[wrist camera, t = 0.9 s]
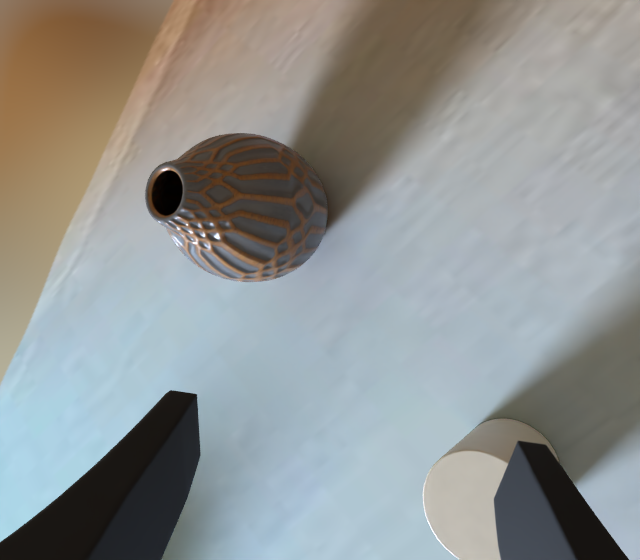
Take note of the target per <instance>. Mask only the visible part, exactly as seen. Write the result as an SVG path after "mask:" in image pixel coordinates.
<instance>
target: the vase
mask: <svg viewBox="0 0 640 560" xmlns="http://www.w3.org/2000/svg"><path fill="white" fill-rule="evenodd" d="M145 199H146V205H147V209H148V211H149V213H150V215H151V216H152V217H153V218H154V219H155V220H156V221H157V222H159V223H160V224H161V225H163V226H164V227H165V228H166V230H167V231H168V233H169V235H170V236H171V238H172V240H173V241H174V243H175V244H176V245H177V247H178V248H179V250H180V251H181V252H182V253H183V254H184V255H185V256H186V257H187V258H188V259H189V260H190V261H191V262H193V263H194V264H195V265H197V266H198V267H200V268H202V269H203V270H205V271H207V272H209V273H211V274H213V275H216V276H219V277H221V278H224V279H229V280H233V281H240V282H259V281H267V280H272V279H276V278H278V277H281V276H284V275H286V274H288V273H290V272H292V271H294V270H295V269H297V268H298V267H300V266H301V265H302V264H304V263H305V262H306V261H307V260H308V259H309V258H310V257H311V256H312V255H313V253H314V252H315V251H316V249H317V248H318V246H319V244H320V242H321V240H322V238H323V235H324V232H325V228H326V224H327V215H328V208H327V199H326V195H325V191H324V188H323V186H322V184H321V181H320V179H319V178H318V176H317V174H316V173H315V171H314V170H313V169H312V167H311V166H310V165H309V164H308V162H307V161H306V160H305V159H303V158H302V157H301V156H300V155H299V154H298V153H297V152H295V151H294V150H292V149H291V148H289V147H287V146H286V145H284V144H282V143H280V142H278V141H275V140H273V139H270V138H267V137H264V136H260V135H255V134H244V133H235V134H225V135H219V136H215V137H212V138H209V139H206V140H204V141H202V142H200V143H198V144H197V145H195V146H194V147H192V148H191V149H189V150H188V151H187V152H185V153H184V154H183V155H182V156H180V157H179V158H178V159H176V160H173V161H169V162H165V163H163V164H161V165H159V166H158V167H157V168H156V169H155V170H154V171H153V172H152V174H151V175H150V177H149V179H148V182H147V186H146V192H145Z"/></svg>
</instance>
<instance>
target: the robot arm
mask: <svg viewBox="0 0 640 560" xmlns="http://www.w3.org/2000/svg"><path fill="white" fill-rule="evenodd" d="M199 458H200V440H199V423H198V406H197V394H192V393H185V392H179V391H172V390H171V391H169V392H168V393H166V394H165V395H164V396H163V397H162V399H161V400H160V401H159V402H158V403H157V404H156V405H155V406H154V407H153V408H152V409H151V410H150V411H149V412H148V413H147V414H146V415H145V417H144V418H143V419H142V420H141V421H140V422H139V423H138V424H137V425H136V426H135V427H134V428H133V429H132V430H131V431H130V432H129V433H128V434H127V435H126V436H125V437H124V438H123V439H122V440H121V441H120V442H119V443H118V444H117V445H116V446H114V447H113V448H112V449H111V450H110V451H109V452H108V453H107V454H106V455H105V456H104V457H103V458H102V459H101V460H100V461H99V462H98V463H97V464H96V465H95V466H93V467H92V468H91V469H90V470H89V471H88V472H87V473H86V474H84V475H83V476H82V477H81V478H80V479H79V480H78V481H76V482H75V483H74V484H73V485H72V486H71V487H70V488H68V489H67V490H66V491H65V492H64V493H63V494H62V495H60V496H59V497H58V498H57V499H56V500H54V501H53V502H52V503H51V504H50V505H48V506H47V507H46V508H45V509H43V510H42V511H41V512H40V513H38V514H37V515H36V516H35V517H33V518H32V519H31V520H29V521H28V522H27V523H26V524H24V525H23V526H22V527H20V528H19V529H18V530H16V531H15V532H14V533H12V534H11V535H10V536H8V537H7V538H6V539H4V540H3V541H1V542H0V560H161V558H162V556H163V554H164V552H165V549H166V547H167V545H168V542H169V540H170V538H171V535H172V533H173V531H174V528H175V526H176V524H177V521H178V519H179V517H180V514H181V512H182V510H183V507H184V505H185V502H186V500H187V497H188V494H189V491H190V488H191V485H192V481H193V478H194V475H195V471H196V468H197V465H198V461H199ZM494 509H495V521H496V531H497V540H498V548H499V553H500V558H501V560H629V559H628V558H627V556H626V555H625V554H624V553H623V551H622V550H621V549H620V547H619V546H618V545H617V543H616V542H615V541H614V539H613V538H612V537H611V535H610V534H609V533H608V531H607V530H606V528H605V527H604V526H603V524H602V523H601V522H600V520H599V519H598V518H597V516H596V515H595V514H594V512H593V511H592V509H591V508H590V507H589V505H588V504H587V502H586V501H585V499H584V498H583V497H582V495H581V494H580V492H579V491H578V489H577V488H576V487H575V485H574V484H573V482H572V481H571V479H570V478H569V477H568V475H567V474H566V472H565V471H564V469H563V468H562V466H561V465H560V463H559V462H558V461H557V459H556V458H555V456H554V455H553V453H552V452H551V451H550V449H549V448H548V446H547V445H545V444H539V443H532V442H525V441H517V444H516V446H515V449H514V451H513V454H512V456H511V458H510V461H509V463H508V466H507V468H506V470H505V473H504V475H503V478H502V480H501V482H500V485H499V487H498V490H497V492H496V495H495V497H494Z"/></svg>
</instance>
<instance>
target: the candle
mask: <svg viewBox="0 0 640 560" xmlns="http://www.w3.org/2000/svg"><path fill="white" fill-rule="evenodd" d="M517 441H525V442H532V443H539V444H545V445H547V446H548V448H549V449H550V451H551V452H552V453H553V455H554V456H555V458H556V459H557V461H558V462H559V460H558V457H557V455H556V452H555V451H554V449H553V447H552V446H551V444H550V443H549V442H548V440H547V439H546V438H545V437H544V436H543V435H542V434H541V433H539V432H538V431H537V430H535V429H534V428H532V427H531V426H529V425H527V424H525V423H523V422H520V421H517V420H513V419H493V420H489V421H486V422H484V423H482V424H480V425H478V426H477V427H476V428H475V429H473V430H472V431H471V432H470V433H469V434H468V435H467V436H465V437H464V438H463V439H462V440H461V441H460V442H459V443H457V444H456V445H455V446H454V447H453V448H452V449H451V450H449V451H448V452H447V453H446V454H445V455H444V456H442V457H441V458H440V459H439V460H438V461H437V462H436V463H435V464H434V465H433V466H432V468H431V469H430V471H429V472H428V475H427V477H426V480H425V483H424V488H423V505H424V510H425V515H426V518H427V520H428V523H429V525H430V527H431V529H432V531H433V533H434V534H435V536H436V537H437V539H438V540H439V541H440V543H441V544H442V545H443V546H444V547H445V548H446V549H447V550H448V551H449V552H450V553H451V554H453V555H454V556H455V557H457V558H458V559H459V560H501V558H500V553H499V548H498V540H497V531H496V521H495V509H494V497H495V495H496V492H497V490H498V487H499V485H500V482H501V480H502V478H503V475H504V473H505V470H506V468H507V466H508V463H509V461H510V458H511V456H512V454H513V451H514V449H515V446H516V444H517Z"/></svg>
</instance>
